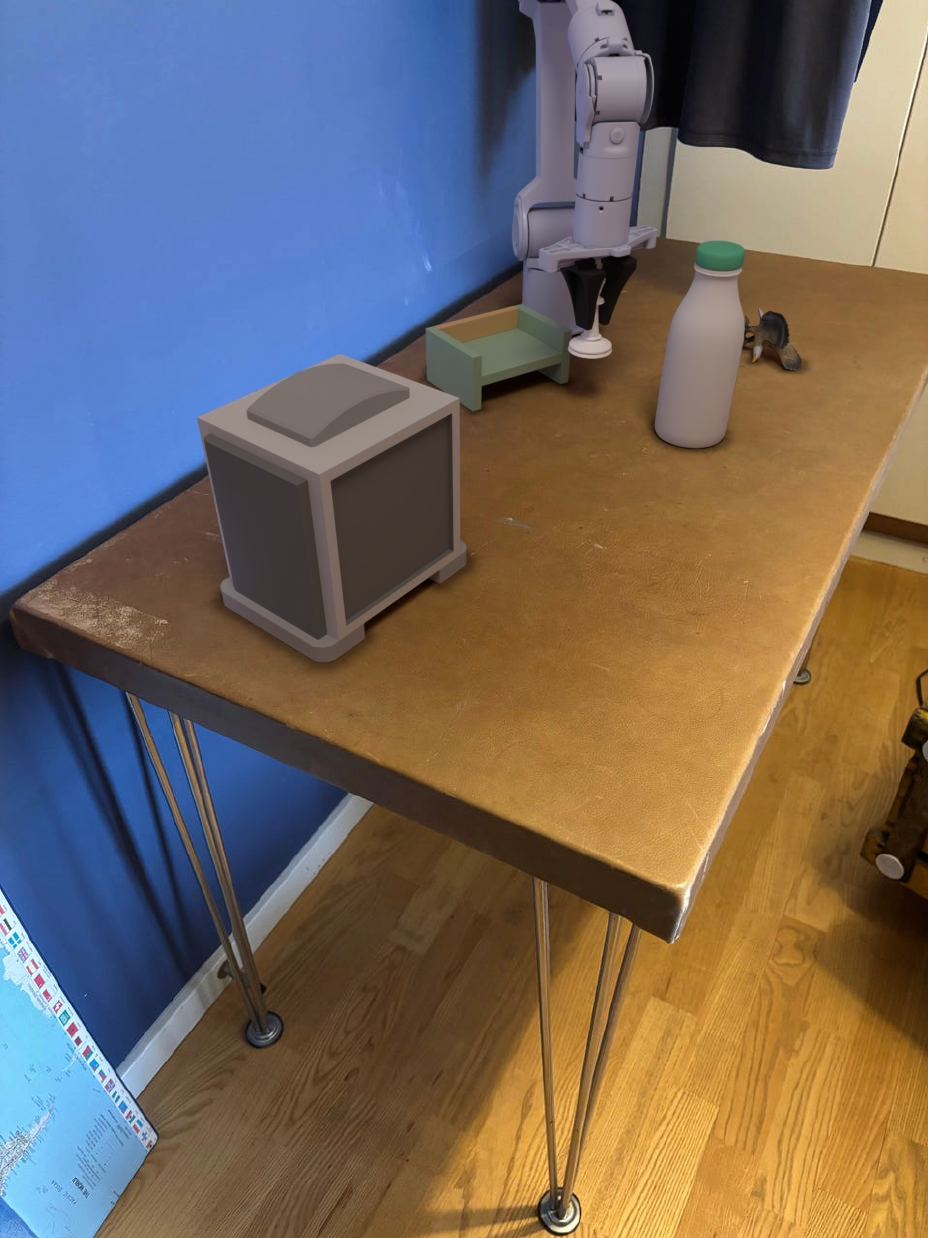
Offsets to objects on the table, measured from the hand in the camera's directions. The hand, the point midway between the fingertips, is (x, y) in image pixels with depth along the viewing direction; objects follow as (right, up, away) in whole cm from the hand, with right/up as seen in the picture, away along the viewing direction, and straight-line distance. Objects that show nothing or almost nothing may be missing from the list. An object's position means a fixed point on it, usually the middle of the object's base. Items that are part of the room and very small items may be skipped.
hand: (592, 324), depth 101 cm
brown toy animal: (+24, 0, +15) cm, 28 cm away
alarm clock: (-24, -29, -21) cm, 44 cm away
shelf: (-10, -4, +10) cm, 14 cm away
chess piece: (0, -2, +2) cm, 3 cm away
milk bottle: (+11, -12, 0) cm, 16 cm away
